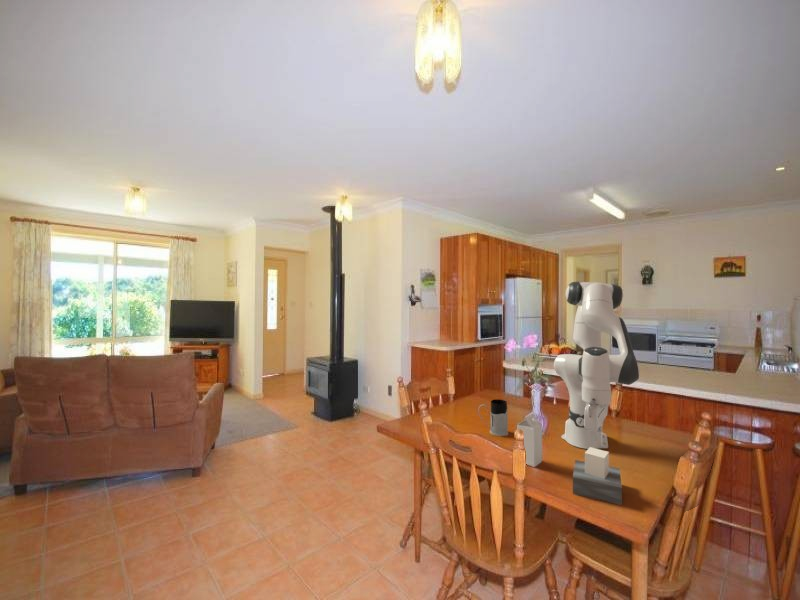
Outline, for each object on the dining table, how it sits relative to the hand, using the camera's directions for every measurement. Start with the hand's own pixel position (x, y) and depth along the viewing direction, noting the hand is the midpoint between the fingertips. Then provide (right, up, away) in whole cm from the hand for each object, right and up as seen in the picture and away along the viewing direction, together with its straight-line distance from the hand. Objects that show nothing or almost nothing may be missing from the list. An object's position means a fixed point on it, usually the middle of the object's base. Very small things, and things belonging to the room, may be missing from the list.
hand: (596, 435), depth 123 cm
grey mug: (-22, -18, +51) cm, 58 cm away
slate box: (0, -19, 0) cm, 19 cm away
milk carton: (-15, -18, +21) cm, 32 cm away
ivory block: (0, -13, 0) cm, 13 cm away
